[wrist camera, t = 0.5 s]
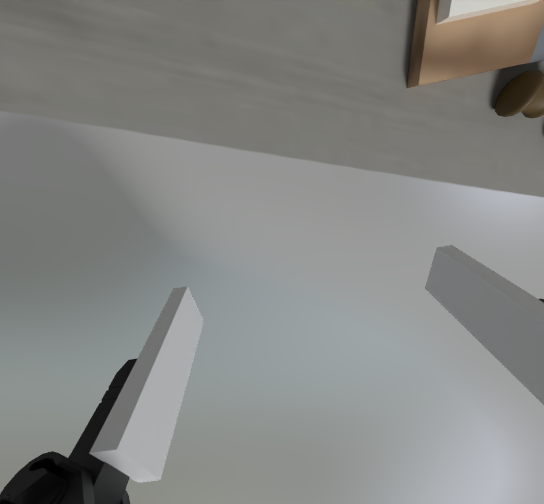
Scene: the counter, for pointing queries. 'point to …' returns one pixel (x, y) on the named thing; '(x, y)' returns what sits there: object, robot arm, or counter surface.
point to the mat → (539, 48)
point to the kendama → (523, 96)
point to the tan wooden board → (471, 42)
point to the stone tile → (474, 8)
